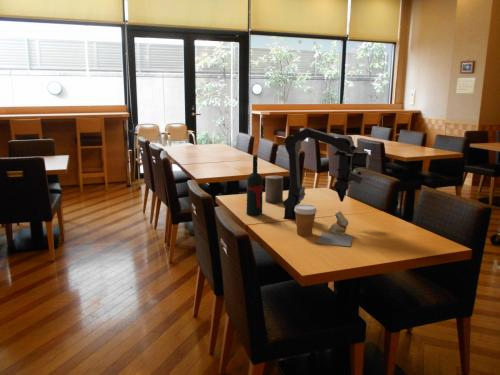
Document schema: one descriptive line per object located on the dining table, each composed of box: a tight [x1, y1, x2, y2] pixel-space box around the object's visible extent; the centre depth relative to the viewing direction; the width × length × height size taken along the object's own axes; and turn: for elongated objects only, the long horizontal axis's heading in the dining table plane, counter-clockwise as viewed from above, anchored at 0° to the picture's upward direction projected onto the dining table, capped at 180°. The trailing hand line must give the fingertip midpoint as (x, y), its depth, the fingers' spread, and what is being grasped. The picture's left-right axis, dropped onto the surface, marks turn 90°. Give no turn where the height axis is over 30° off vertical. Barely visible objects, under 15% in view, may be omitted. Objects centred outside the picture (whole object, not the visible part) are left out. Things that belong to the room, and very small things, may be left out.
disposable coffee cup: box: [294, 203, 318, 237], centre depth 187 cm, size 10×10×12 cm
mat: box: [316, 232, 353, 248], centre depth 181 cm, size 13×13×1 cm
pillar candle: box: [264, 174, 284, 204], centre depth 242 cm, size 10×10×15 cm
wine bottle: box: [246, 152, 264, 217], centre depth 214 cm, size 8×10×30 cm
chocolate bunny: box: [328, 210, 349, 235], centre depth 190 cm, size 6×8×10 cm
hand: (342, 200), depth 198 cm, fingers open, 5 cm apart
